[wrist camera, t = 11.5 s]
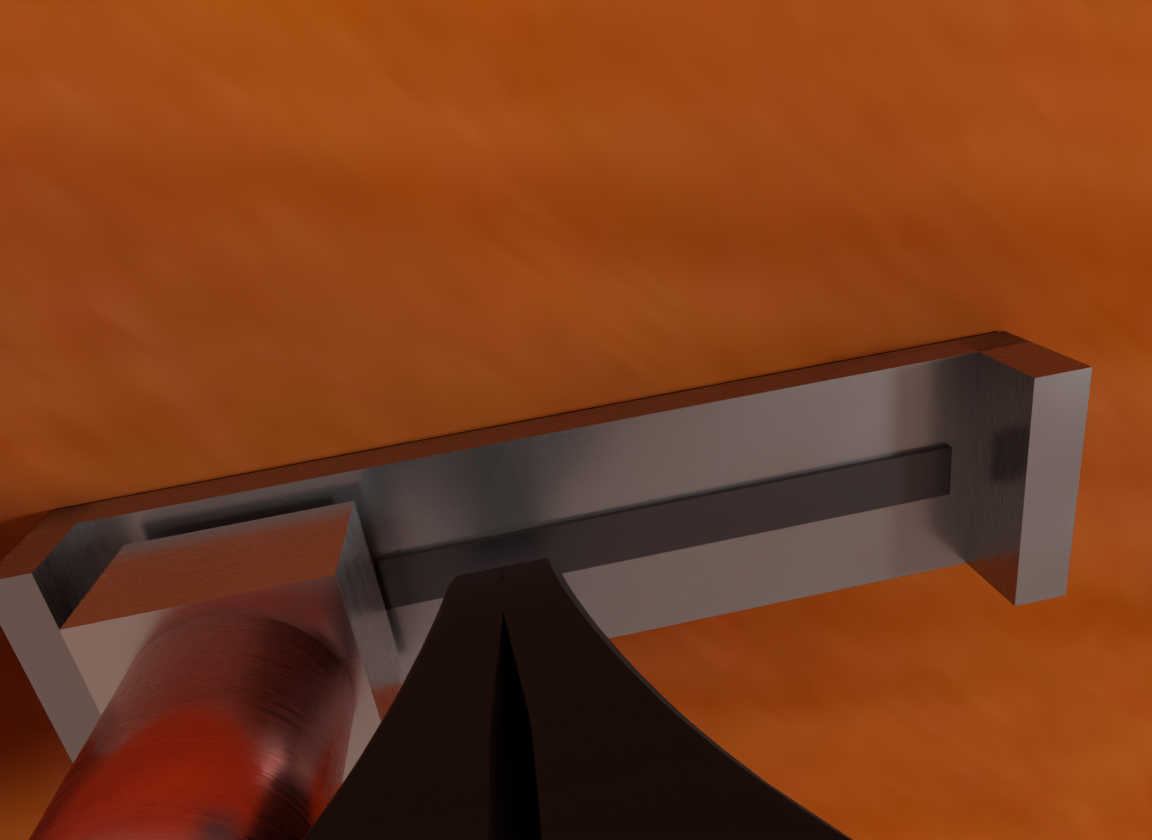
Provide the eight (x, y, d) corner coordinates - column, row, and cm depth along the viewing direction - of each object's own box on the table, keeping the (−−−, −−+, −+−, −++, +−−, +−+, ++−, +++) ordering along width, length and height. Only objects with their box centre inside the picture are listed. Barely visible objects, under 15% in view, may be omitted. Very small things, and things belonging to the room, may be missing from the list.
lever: (405, 677, 12) (356, 1228, 6) (198, 721, 11) (-59, 1338, 6) (354, 500, 10) (233, 972, 5) (123, 545, 10) (-295, 1095, 5)
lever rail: (989, 534, 13) (1065, 595, 12) (144, 711, 12) (94, 805, 11) (1004, 330, 12) (1092, 367, 10) (51, 510, 11) (-22, 583, 9)
